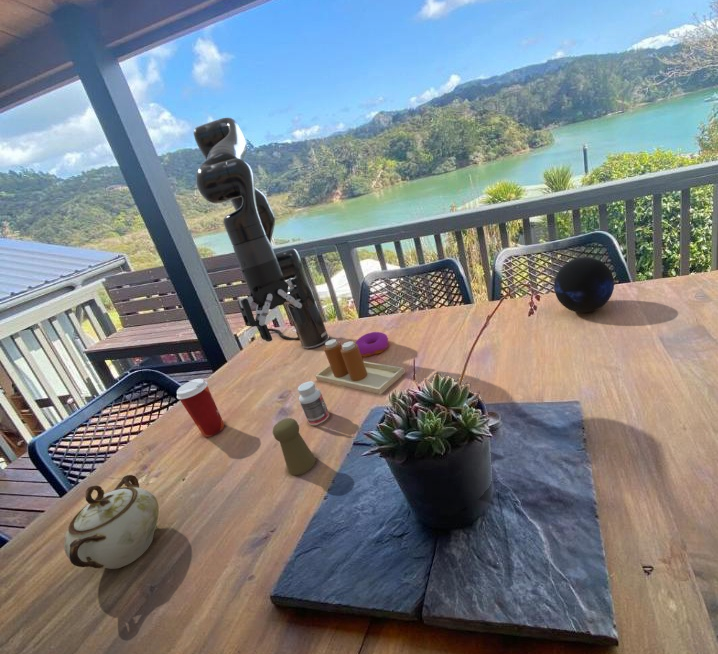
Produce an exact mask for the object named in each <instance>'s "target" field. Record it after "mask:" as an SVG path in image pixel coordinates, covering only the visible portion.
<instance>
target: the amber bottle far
mask: <svg viewBox="0 0 718 654" xmlns="http://www.w3.org/2000/svg"><path fill="white" fill-rule="evenodd" d="M342 348H343V347H342V343H341V342H340V341H338V340H337V339H336V338H332V339H329V340H328V341H327V342H326V343H324V346H323V350H324V353H325V356H326V358H327V361H328V365H330V366H331V369H332V372H333V374H334V377H337V378H339V377H343V376H345V375H347V374H348V370H347V367H346V365H345V362H344V359H343V356H342V354H341V349H342Z"/></svg>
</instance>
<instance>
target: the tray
mask: <svg viewBox="0 0 718 654" xmlns="http://www.w3.org/2000/svg"><path fill="white" fill-rule="evenodd" d="M363 362H364V365H365V368H366V371H367V376H366V377H365V378H364V379H362V380H359V381H352V380H351V378H350V376H349V373H348V374H347V375H345V376H343V377H339V378H337V377H334V374H333V372H332V369H331V366H330V364H328V365H327V366H325V368H323V369H322V370H321V371H319V372H318V373H316V374H315V375H314V376H315V379H316V381H319V382H324V383H328V384H333V385H337V386H341V387H345V388H350V389H356V390H359V391H364V392H368V393H373V394H377V395H383V393H384V392H385V391H387V389H389V388H390V387H391V386H392V385H393V384H394V383H396V382H397V380H399V379H400V378H401V377H403V375H404V374H405V373H406V371H405V368H404V367H401V366H395V365H389V364H383V363H377V362H372V361H371V362H370V361H365V360H363Z"/></svg>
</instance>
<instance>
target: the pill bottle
mask: <svg viewBox="0 0 718 654" xmlns="http://www.w3.org/2000/svg"><path fill="white" fill-rule="evenodd" d="M316 387H317V386H316V384H315V382H314V381H311V380H310V381H309V380H308V381H306V382H303V383H302V384H300V385H298V387H297V392H298V394H299V397H298V402H299V405H300V406H301V409H302V411H303V413H304V416H305V418H306V420H307V423H308V424H309V425H310V426H319V425H320V424H322V423H324V422H325V421H327V420H328V418H329V417H330V412H329V409H328V407H327V404H326V402H325V399H324V397H323V395H322V392H321V390H320V389H319V388H316Z"/></svg>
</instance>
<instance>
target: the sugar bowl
mask: <svg viewBox="0 0 718 654" xmlns="http://www.w3.org/2000/svg"><path fill="white" fill-rule="evenodd" d="M94 491H96V493H97V495H96V498H93V496H92V494H93V492H94ZM85 501H86V502H87V503H88V504H86V505H85V506H84V507H83V508H82V509H80V510H79V512H77V513H76V514H75V516H74V517H73V518H72V519H71V521H70V522H69V525H68V527H67V531H66V533H65V536H64V539H63V550H64V553H65V555H66V557H67V558H68V559H69V561H70V563H71V564H72V565H73V566H74V567H79V568H93V569H109V570H117V569H120V568H123V567H126V566H128V565H130V564H132V563H133V562H135V561H136V560H138V559H139V558H140V557H142V556H143V555H144V553H146V551H147V550H148V549H149V548H150V546H151V544H152V542H153V539H154V535H155V531H156V529H157V524H158V519H159V512H160V511H159V509H160V507H159V502H158V500H157V497H156V496H155V494H153V493H152V492H151V491H149V490H148V489H145V488H141V487H140V483H139V480H138V478H137V477H136V476H135V475H133V474H127V475H125V476H123V477H122V479H121V480H120V481H119V483H118V484H117V485H116V486H115V488H114V489H113V490H110V491H107V492H106V493H105V490H104V489H103V487H101V486H100V485H91V486H88V487H87V488H86V491H85Z"/></svg>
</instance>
